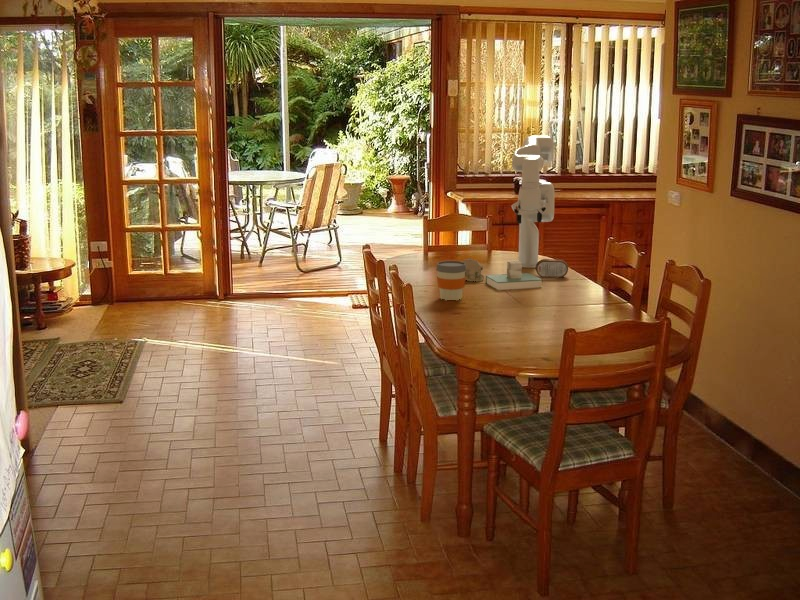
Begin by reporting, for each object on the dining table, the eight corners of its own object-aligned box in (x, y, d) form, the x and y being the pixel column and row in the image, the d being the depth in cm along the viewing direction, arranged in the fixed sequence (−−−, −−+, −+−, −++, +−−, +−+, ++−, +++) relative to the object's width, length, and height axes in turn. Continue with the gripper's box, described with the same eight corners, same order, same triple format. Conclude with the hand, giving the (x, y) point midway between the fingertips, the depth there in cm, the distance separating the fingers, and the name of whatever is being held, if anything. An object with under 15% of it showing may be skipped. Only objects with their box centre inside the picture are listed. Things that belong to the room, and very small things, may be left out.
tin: (567, 276, 437) (568, 259, 435) (568, 278, 434) (568, 260, 432) (535, 276, 439) (535, 258, 437) (535, 277, 436) (536, 259, 434)
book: (485, 284, 424) (485, 275, 423) (528, 281, 429) (528, 272, 428) (497, 291, 410) (497, 282, 409) (541, 288, 415) (542, 279, 414)
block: (506, 276, 420) (507, 261, 418) (517, 276, 421) (517, 260, 420) (510, 278, 415) (511, 263, 414) (521, 278, 417) (521, 262, 415)
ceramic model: (487, 278, 435) (488, 257, 433) (480, 282, 425) (480, 261, 423) (459, 275, 440) (459, 255, 438) (451, 280, 430) (451, 259, 428)
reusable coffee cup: (431, 296, 399) (431, 261, 395) (458, 293, 403) (458, 259, 399) (443, 302, 387) (443, 267, 384) (470, 300, 391) (471, 265, 388)
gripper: (544, 183, 427) (543, 219, 432) (509, 184, 423) (508, 222, 428) (551, 185, 420) (549, 222, 425) (515, 187, 416) (514, 225, 421)
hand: (529, 222), depth 426 cm, fingers open, 9 cm apart
